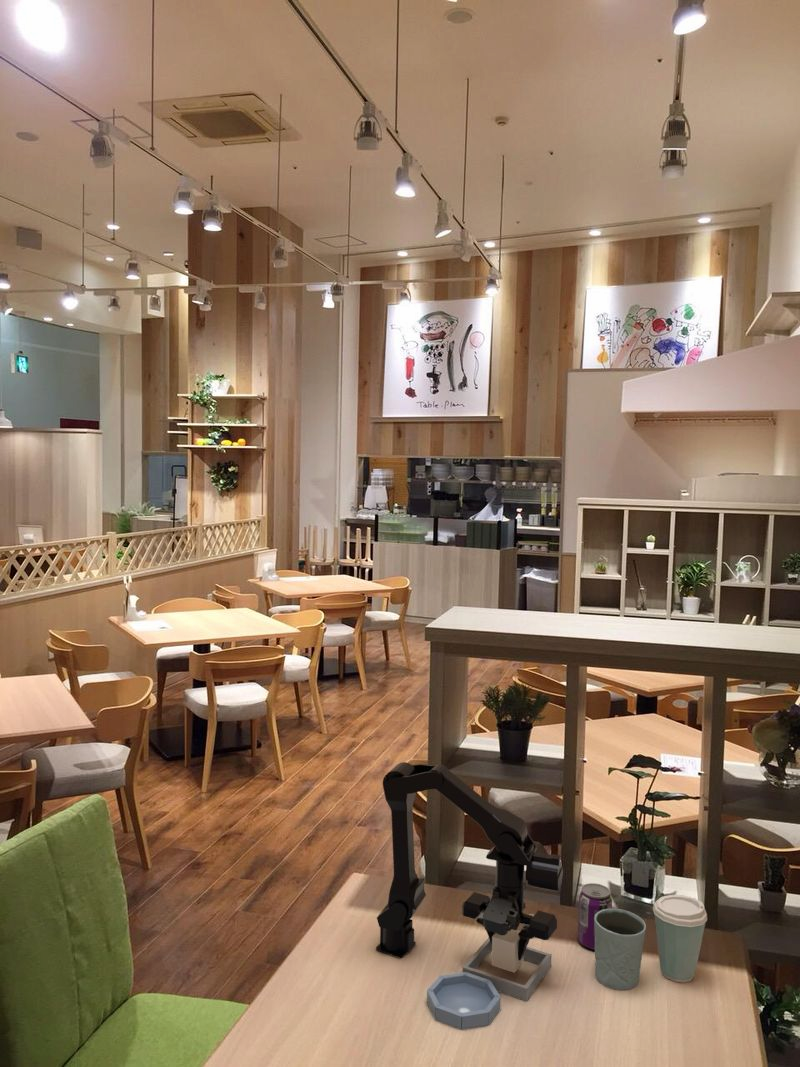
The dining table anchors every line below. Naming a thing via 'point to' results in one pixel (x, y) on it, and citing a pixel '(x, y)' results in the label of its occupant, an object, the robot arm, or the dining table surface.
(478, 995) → the ceramic bowl
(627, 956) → the embossed ceramic cup
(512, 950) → the stone block
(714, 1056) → the dining table surface
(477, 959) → the open square frame
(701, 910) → the disposable coffee cup
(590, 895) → the beverage can
